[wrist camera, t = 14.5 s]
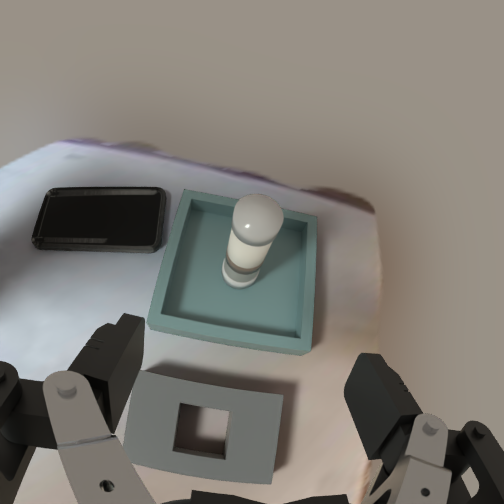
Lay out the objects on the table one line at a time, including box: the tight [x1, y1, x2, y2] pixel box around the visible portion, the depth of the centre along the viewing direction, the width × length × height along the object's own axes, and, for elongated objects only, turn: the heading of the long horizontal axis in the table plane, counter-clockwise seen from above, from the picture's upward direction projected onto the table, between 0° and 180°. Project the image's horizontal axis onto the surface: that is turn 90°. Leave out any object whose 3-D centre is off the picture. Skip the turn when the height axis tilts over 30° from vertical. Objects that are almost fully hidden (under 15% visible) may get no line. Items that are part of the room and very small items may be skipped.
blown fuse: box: [221, 194, 284, 290], centre depth 25 cm, size 3×3×10 cm
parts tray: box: [146, 189, 317, 356], centre depth 29 cm, size 14×14×2 cm
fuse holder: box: [123, 370, 283, 484], centre depth 22 cm, size 12×8×2 cm, turn 83°
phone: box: [32, 187, 166, 253], centre depth 30 cm, size 8×1×15 cm
